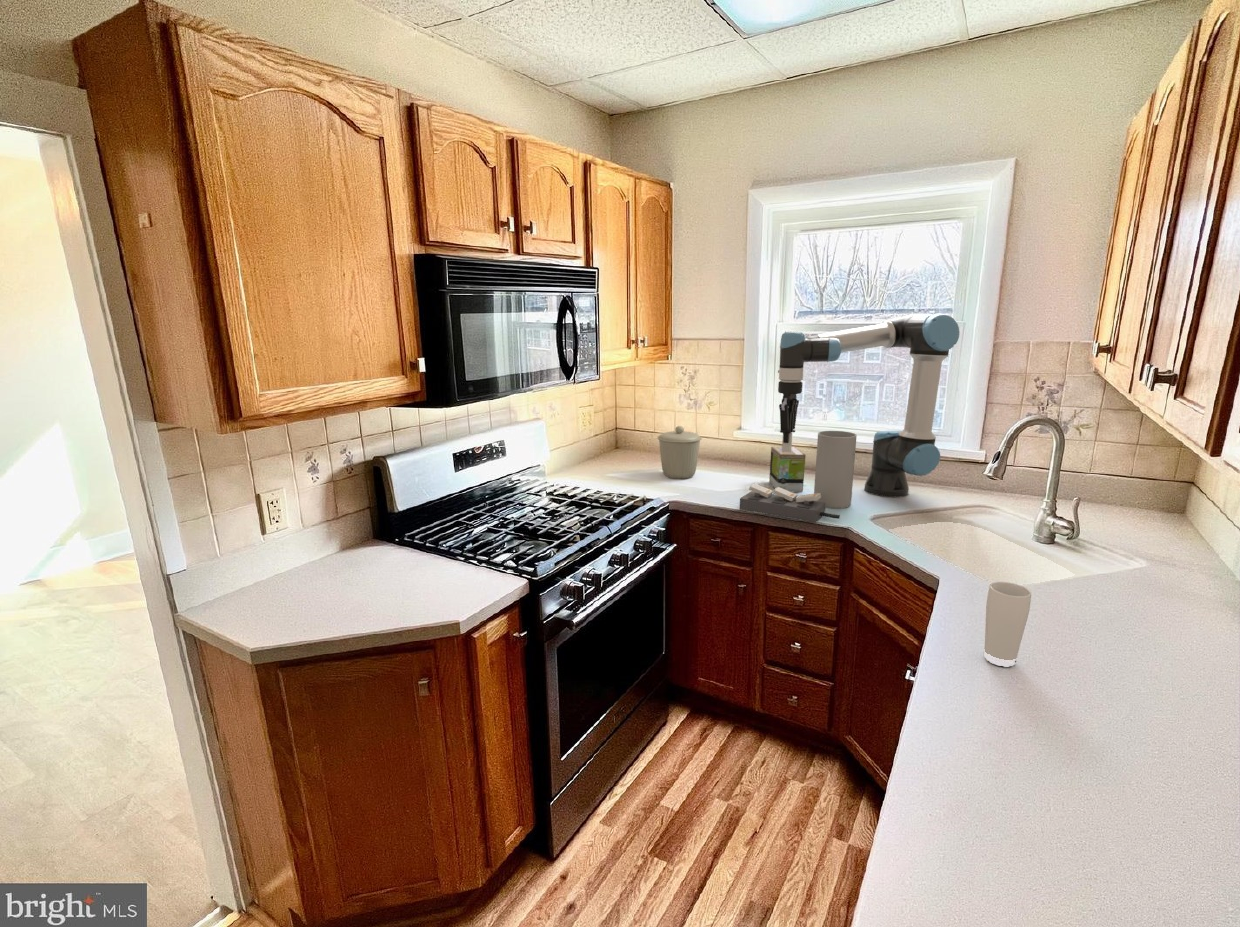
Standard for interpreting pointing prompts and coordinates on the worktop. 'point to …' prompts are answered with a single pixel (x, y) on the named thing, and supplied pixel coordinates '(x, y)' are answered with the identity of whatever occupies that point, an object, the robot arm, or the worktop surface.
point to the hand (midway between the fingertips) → (786, 451)
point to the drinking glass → (1006, 619)
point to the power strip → (784, 507)
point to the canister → (679, 453)
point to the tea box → (787, 469)
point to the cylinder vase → (835, 468)
